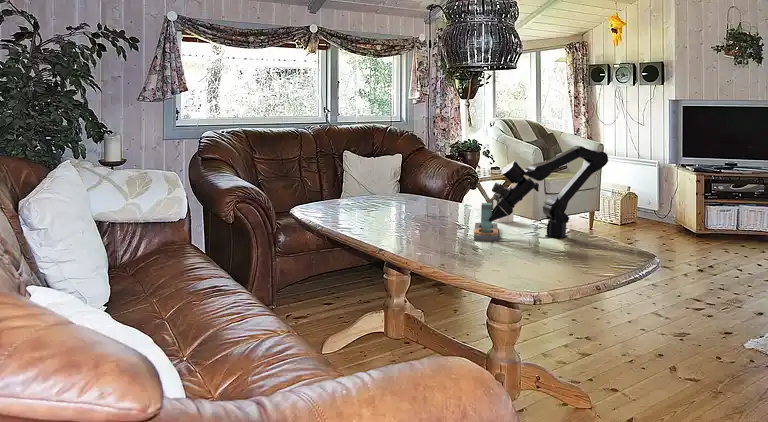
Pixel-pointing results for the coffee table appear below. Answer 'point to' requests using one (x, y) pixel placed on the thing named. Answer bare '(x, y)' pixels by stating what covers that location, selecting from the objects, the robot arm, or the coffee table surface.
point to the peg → (486, 217)
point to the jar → (506, 218)
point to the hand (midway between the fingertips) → (489, 218)
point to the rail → (486, 233)
